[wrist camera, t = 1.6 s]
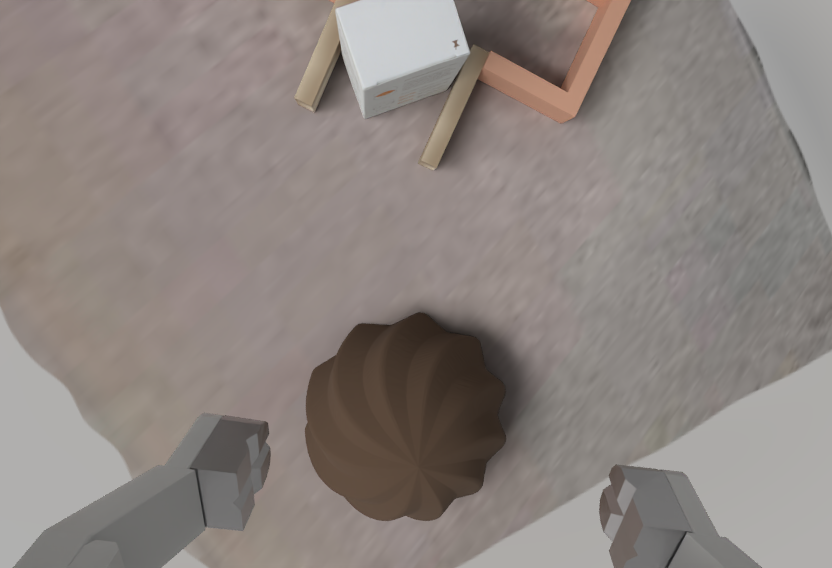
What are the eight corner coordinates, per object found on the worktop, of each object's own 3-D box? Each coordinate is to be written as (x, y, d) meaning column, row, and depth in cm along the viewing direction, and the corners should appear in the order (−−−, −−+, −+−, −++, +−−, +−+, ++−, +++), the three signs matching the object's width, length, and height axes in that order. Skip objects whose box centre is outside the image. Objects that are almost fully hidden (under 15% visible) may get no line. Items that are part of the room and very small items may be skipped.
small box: (427, 28, 42) (448, -33, 32) (447, 92, 43) (474, 52, 33) (340, 57, 42) (332, 5, 31) (363, 121, 43) (362, 90, 32)
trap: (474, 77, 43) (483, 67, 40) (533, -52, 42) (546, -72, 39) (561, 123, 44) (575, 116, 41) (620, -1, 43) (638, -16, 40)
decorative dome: (513, 484, 49) (550, 552, 39) (319, 518, 48) (307, 597, 38) (496, 300, 46) (531, 323, 36) (288, 330, 45) (266, 362, 35)
